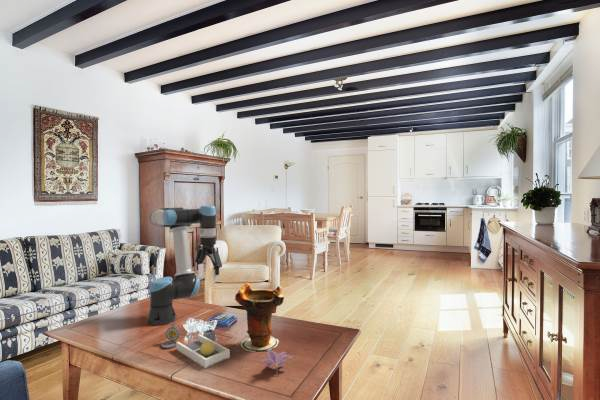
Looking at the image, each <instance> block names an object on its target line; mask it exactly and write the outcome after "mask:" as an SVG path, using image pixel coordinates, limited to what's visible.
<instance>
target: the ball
mask: <svg viewBox="0 0 600 400" xmlns="http://www.w3.org/2000/svg"><path fill="white" fill-rule="evenodd" d="M200 352H201V354H202V355H204V356H209V355H211V354H212V353H213V352H214V344H213V343H212V342H210V341H206V342H204V343H203V344H202V345H201V347H200Z"/></svg>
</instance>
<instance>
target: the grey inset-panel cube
mask: <svg viewBox="0 0 600 400" xmlns="http://www.w3.org/2000/svg"><path fill="white" fill-rule="evenodd" d="M203 336H204V337H206V338H208V339H210V340H212V341H216V330H213V329H211V328H210V329H207V330H205V331H203Z"/></svg>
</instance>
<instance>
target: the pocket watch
mask: <svg viewBox="0 0 600 400" xmlns="http://www.w3.org/2000/svg"><path fill="white" fill-rule="evenodd" d="M169 324H170V327H169V328H167V329H166V332H165V336H166V338H167V339H168V340H167V341H164V342H163V343H162V344H161V348H164V349H172V348H174V347H176V342H177V340H178V339H179V338H180V334H181V332H180V330H179V329H178V327H176V326H175V325H176V324H177V323H176V322H175V321H173V322H170V323H169Z"/></svg>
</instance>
